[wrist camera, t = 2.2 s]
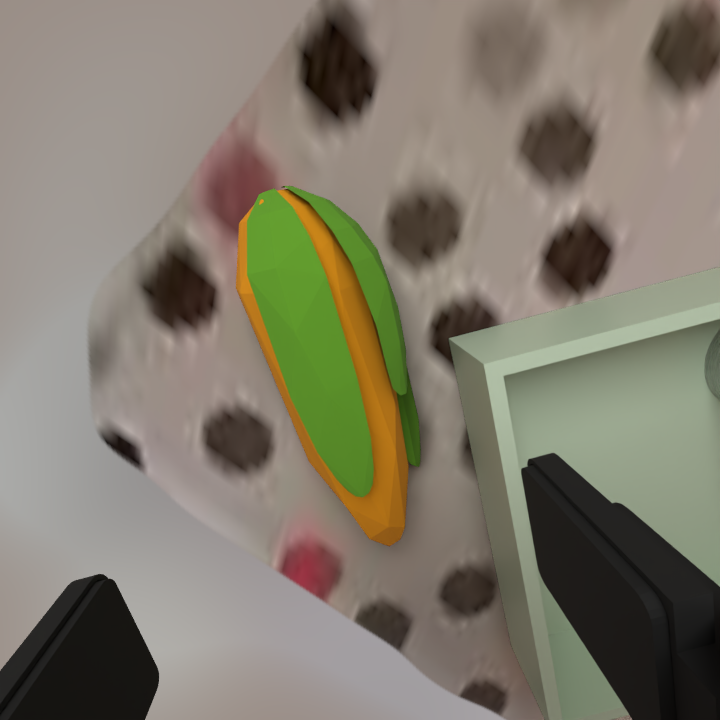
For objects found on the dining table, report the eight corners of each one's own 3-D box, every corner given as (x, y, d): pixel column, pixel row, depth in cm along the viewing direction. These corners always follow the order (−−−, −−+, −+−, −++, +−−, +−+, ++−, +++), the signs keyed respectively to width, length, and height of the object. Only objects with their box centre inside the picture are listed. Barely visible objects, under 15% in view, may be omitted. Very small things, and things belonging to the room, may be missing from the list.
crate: (448, 338, 25) (483, 364, 19) (831, 237, 25) (981, 232, 19) (511, 645, 31) (551, 735, 25) (818, 564, 31) (930, 635, 25)
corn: (355, 141, 15) (480, 578, 20) (356, 175, 23) (448, 489, 28) (166, 206, 16) (334, 616, 21) (227, 218, 23) (340, 518, 28)
